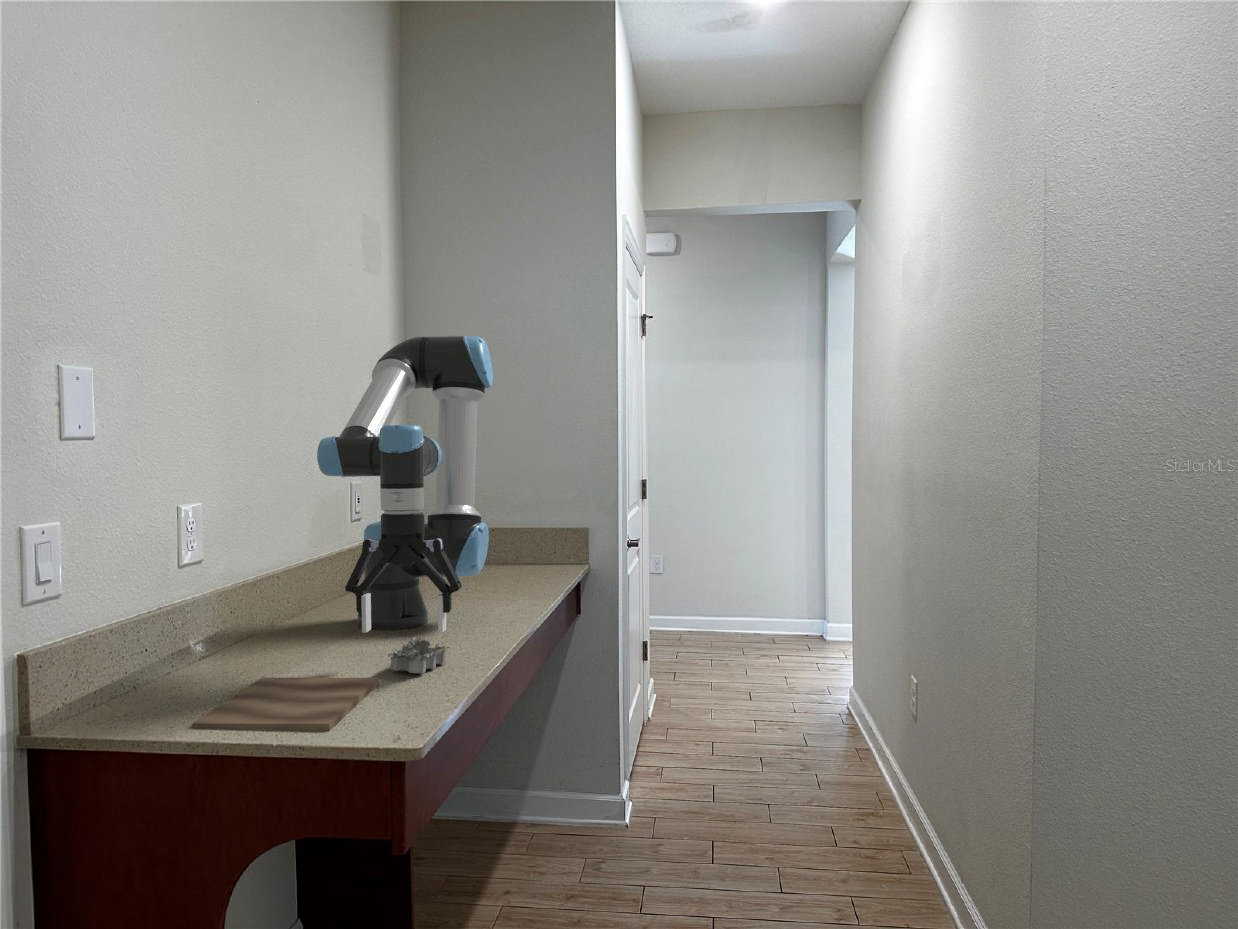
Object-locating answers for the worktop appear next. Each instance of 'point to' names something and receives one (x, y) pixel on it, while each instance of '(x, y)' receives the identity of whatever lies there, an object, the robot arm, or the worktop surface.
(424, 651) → the egg carton
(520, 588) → the worktop surface
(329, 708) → the walnut board
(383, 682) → the worktop surface
